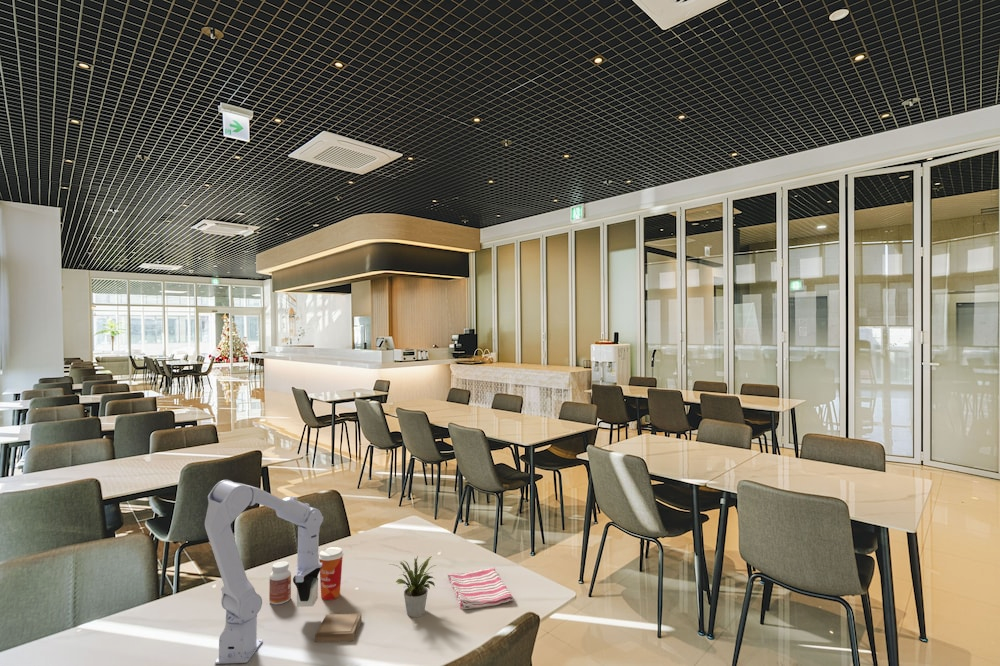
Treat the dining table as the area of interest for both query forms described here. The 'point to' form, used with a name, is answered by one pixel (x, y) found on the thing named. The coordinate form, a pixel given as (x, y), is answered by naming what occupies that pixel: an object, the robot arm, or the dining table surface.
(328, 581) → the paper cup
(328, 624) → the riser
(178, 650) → the dining table surface
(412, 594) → the house plant
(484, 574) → the dish towel
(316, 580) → the cube
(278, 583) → the pill bottle
